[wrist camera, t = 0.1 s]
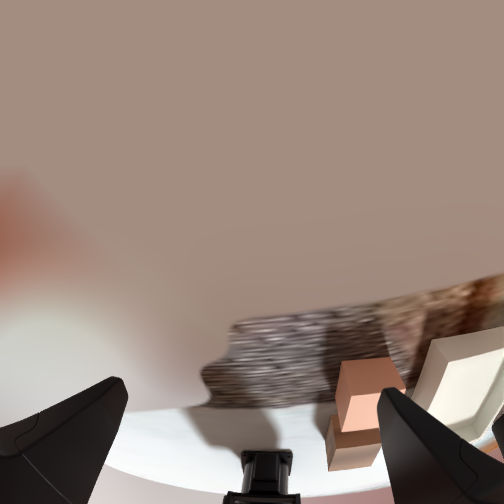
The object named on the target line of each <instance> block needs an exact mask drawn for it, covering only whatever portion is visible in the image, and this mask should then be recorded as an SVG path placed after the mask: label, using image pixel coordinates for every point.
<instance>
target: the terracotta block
mask: <svg viewBox="0 0 504 504" xmlns="http://www.w3.org/2000/svg"><path fill="white" fill-rule="evenodd" d="M387 387H395V388H397V389H398V390H400V391H401V392H402V393H403V394H404V393H405V391H406V387H405V385H404V383H403V381H402V379H401V377H400V375H399V373H398V371H397V369H396V367H395V365H394V363H393V362H392V360H391V358H390V357H383V358H373V359H362V360H349V361H342V363H341V368H340V374H339V379H338V385H337V390H336V395H335V400H336V405H337V411H338V416H339V421H340V427H341V432H348V431H357V430H365V429H372V428H379V423H378V416H377V403H378V401H379V398H380V394H381V391H382V390H383V389H384V388H387Z"/></svg>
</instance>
